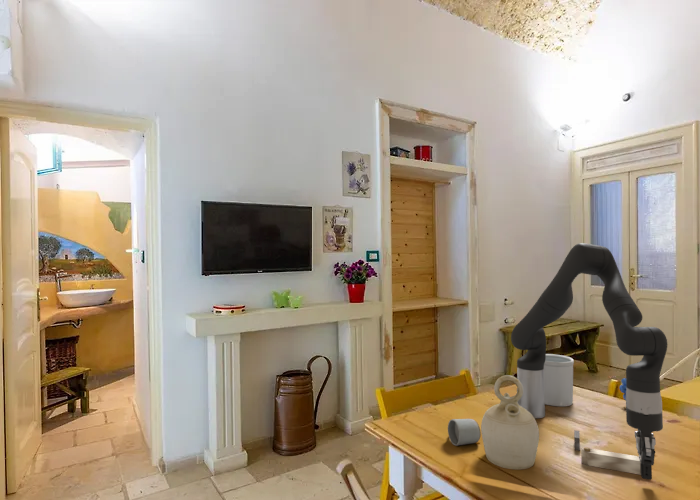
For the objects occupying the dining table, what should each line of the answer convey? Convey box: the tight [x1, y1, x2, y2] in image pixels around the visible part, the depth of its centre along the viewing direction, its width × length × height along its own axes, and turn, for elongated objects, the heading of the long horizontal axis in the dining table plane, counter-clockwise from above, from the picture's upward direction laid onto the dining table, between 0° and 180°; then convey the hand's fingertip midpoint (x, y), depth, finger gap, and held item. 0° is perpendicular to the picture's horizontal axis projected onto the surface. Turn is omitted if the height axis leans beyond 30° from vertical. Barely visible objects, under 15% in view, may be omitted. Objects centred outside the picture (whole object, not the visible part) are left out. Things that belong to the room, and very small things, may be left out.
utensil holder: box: [544, 353, 575, 407], centre depth 176 cm, size 15×15×18 cm
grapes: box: [618, 377, 627, 402], centre depth 166 cm, size 12×7×12 cm, turn 35°
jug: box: [480, 374, 540, 471], centre depth 124 cm, size 15×16×25 cm
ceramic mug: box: [447, 418, 482, 446], centre depth 139 cm, size 11×8×8 cm
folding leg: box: [580, 446, 641, 476], centre depth 117 cm, size 16×3×4 cm, turn 63°
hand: (646, 477), depth 108 cm, fingers closed
